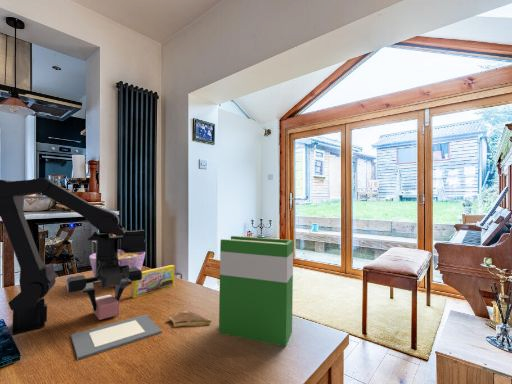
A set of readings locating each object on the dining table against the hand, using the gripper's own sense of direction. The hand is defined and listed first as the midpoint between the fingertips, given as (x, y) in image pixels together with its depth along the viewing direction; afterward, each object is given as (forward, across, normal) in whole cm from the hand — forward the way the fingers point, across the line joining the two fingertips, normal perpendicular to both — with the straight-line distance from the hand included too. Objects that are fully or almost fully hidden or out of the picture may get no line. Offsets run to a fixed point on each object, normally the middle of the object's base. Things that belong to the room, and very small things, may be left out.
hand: (105, 308), depth 77 cm
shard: (+3, +18, -18) cm, 26 cm away
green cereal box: (+2, +28, -35) cm, 45 cm away
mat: (+2, 0, -14) cm, 14 cm away
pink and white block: (+1, 0, 0) cm, 1 cm away
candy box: (+2, +18, +11) cm, 21 cm away
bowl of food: (+2, +10, +29) cm, 31 cm away
